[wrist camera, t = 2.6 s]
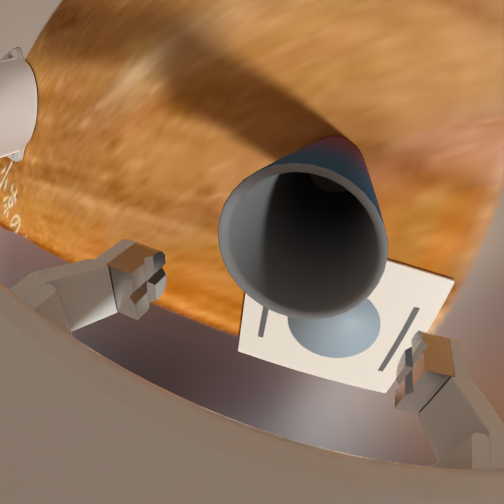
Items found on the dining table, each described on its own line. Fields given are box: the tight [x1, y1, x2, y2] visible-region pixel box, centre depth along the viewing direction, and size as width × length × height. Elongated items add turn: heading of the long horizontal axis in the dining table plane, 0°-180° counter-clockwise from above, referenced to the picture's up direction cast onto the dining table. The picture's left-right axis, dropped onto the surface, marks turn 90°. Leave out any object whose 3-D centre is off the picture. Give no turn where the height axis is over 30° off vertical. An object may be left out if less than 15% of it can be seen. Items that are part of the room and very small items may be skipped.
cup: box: [218, 136, 388, 319], centre depth 18 cm, size 7×7×15 cm
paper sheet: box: [238, 259, 455, 393], centre depth 31 cm, size 20×18×1 cm
